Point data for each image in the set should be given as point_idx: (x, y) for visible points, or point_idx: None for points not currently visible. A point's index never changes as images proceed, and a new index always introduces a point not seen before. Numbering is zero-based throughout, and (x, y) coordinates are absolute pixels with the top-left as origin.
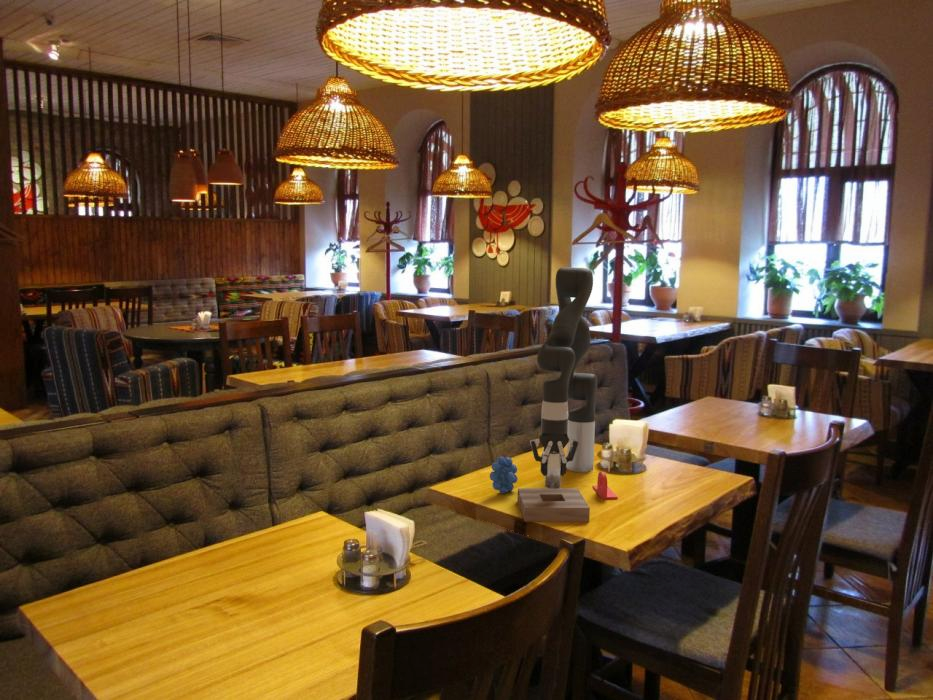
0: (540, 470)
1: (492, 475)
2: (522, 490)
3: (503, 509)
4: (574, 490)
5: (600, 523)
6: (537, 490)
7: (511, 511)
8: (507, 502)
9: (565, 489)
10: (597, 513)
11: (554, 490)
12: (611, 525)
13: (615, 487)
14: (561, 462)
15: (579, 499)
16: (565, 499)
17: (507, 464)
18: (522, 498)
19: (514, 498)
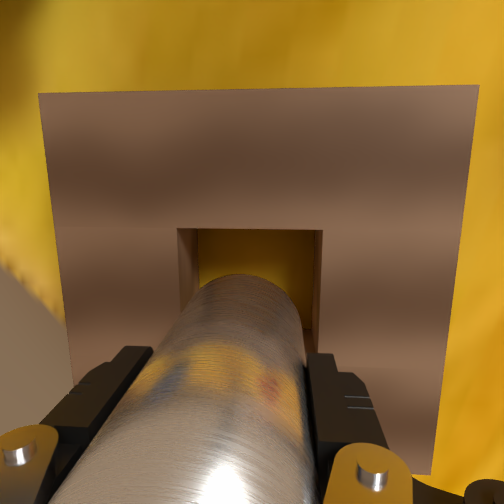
0: (87, 373)
1: None
2: (69, 144)
3: (20, 242)
4: (437, 137)
5: (451, 442)
6: (169, 143)
7: (58, 272)
8: (34, 125)
9: (375, 114)
10: (487, 311)
11: (288, 139)
12: (494, 467)
13: None
14: (324, 481)
15: (413, 338)
16: (324, 333)
17: None
18: (70, 309)
19: (69, 45)
